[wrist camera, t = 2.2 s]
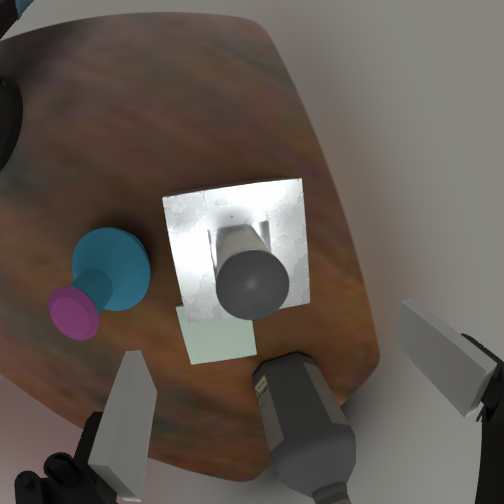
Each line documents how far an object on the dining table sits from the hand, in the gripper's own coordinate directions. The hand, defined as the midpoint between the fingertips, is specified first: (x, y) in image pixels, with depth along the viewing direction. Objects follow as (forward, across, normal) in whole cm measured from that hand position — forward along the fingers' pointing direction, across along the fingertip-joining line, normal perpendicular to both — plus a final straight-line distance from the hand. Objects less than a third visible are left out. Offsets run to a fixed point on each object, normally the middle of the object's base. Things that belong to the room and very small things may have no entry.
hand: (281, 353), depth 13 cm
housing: (+22, 0, 0) cm, 22 cm away
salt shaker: (+20, 0, 0) cm, 20 cm away
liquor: (+22, +4, -22) cm, 31 cm away
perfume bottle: (+22, -14, 0) cm, 26 cm away
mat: (+22, -4, -11) cm, 25 cm away
